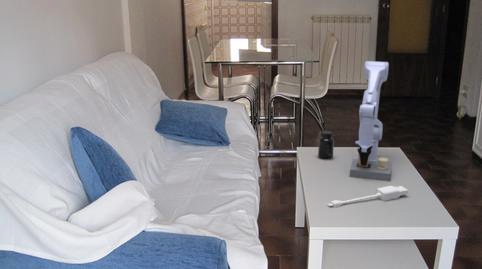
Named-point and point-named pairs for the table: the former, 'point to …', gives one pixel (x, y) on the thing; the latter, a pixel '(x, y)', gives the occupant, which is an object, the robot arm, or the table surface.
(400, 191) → the charging cable
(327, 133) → the supplement bottle
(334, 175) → the table surface
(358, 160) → the brown wooden block
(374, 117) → the robot arm
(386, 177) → the board with square hole
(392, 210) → the table surface
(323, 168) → the table surface
